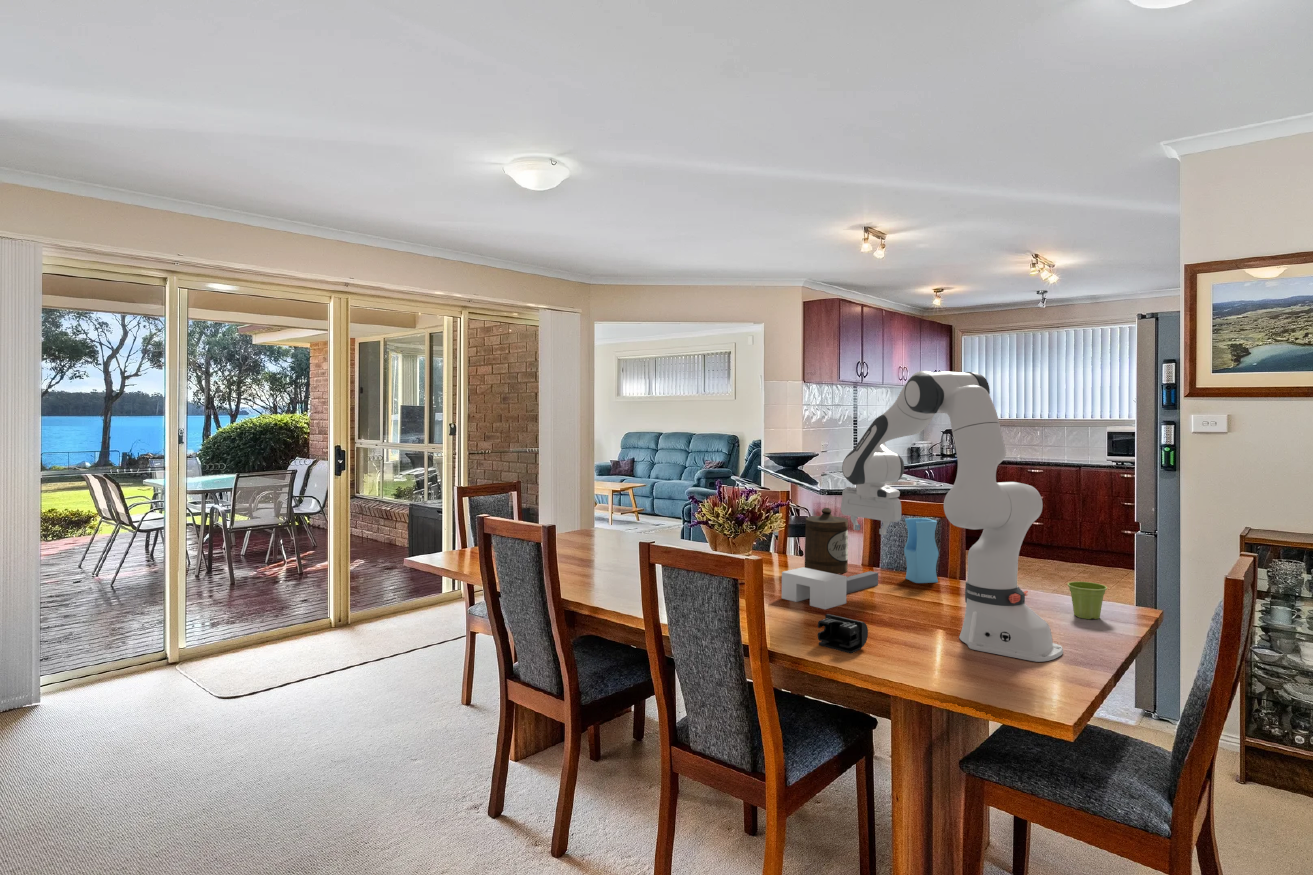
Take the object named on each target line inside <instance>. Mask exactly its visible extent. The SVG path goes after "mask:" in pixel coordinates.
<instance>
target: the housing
mask: <svg viewBox="0 0 1313 875" xmlns="http://www.w3.org/2000/svg"><path fill="white" fill-rule="evenodd" d="M847 577H848V576H846V575H843V574H833V573H829V572H824V571H819V570H814V569H809V568H805V566H803V567H797V568H793V569H788V570H784V571H781V599H783V600H787V601H790V602H794V603H798V602H801V601H805V600H808V599H809V606H811V607H814V608H817V609H818V608H819V609H822V610H828V609H832V608H835V607H839V606H842V605H845V604H847V594H846V586H847Z"/></svg>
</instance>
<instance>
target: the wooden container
mask: <svg viewBox="0 0 1313 875" xmlns="http://www.w3.org/2000/svg"><path fill="white" fill-rule="evenodd" d="M821 513H822V514H821V515H812V516H807V517H805V534H804V535H805V536H804V537H805V539H804V568H809V569H814V570H819V571H824V572H829V573H833V574H838V575H842V574H844V573H847V572H848V568H849V567H848V565H849V564H848V562H849V560H848V559H849V540H848V538H849V532H848V531H849V530H848V529H849V520H848V519H847V518H846V517H841V516H833V515H832V514H831V513H832V509H831V508H829V507H824V508H822V509H821Z"/></svg>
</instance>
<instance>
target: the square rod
mask: <svg viewBox="0 0 1313 875" xmlns="http://www.w3.org/2000/svg"><path fill="white" fill-rule="evenodd" d="M878 585H879V572H877V571H872V570H870V571H869V570H868V571H866V572H861V573H858V574H854V575H850V576H847V586H846V595H848V594H851V593H855V592H857V591H862V590H865V589H869V588H873V587H876V586H878Z"/></svg>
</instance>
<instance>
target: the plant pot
mask: <svg viewBox="0 0 1313 875" xmlns="http://www.w3.org/2000/svg"><path fill="white" fill-rule="evenodd" d="M1067 586H1068V588H1069V592H1070V595H1071V596H1070V597H1071V601H1072V602H1071V603H1072V609H1073V610H1072V611H1073V616H1076V617H1077V618H1080V619H1084V620H1091V619H1094V620H1099V619H1100V618H1101V612H1102V605H1103V601H1104V595H1105V593H1106V591H1107V590H1108V587H1107V586H1106V585H1104V584H1101V583H1098V582H1097V583H1096V582H1091V581H1090V582H1089V581H1069V582H1067Z"/></svg>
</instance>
